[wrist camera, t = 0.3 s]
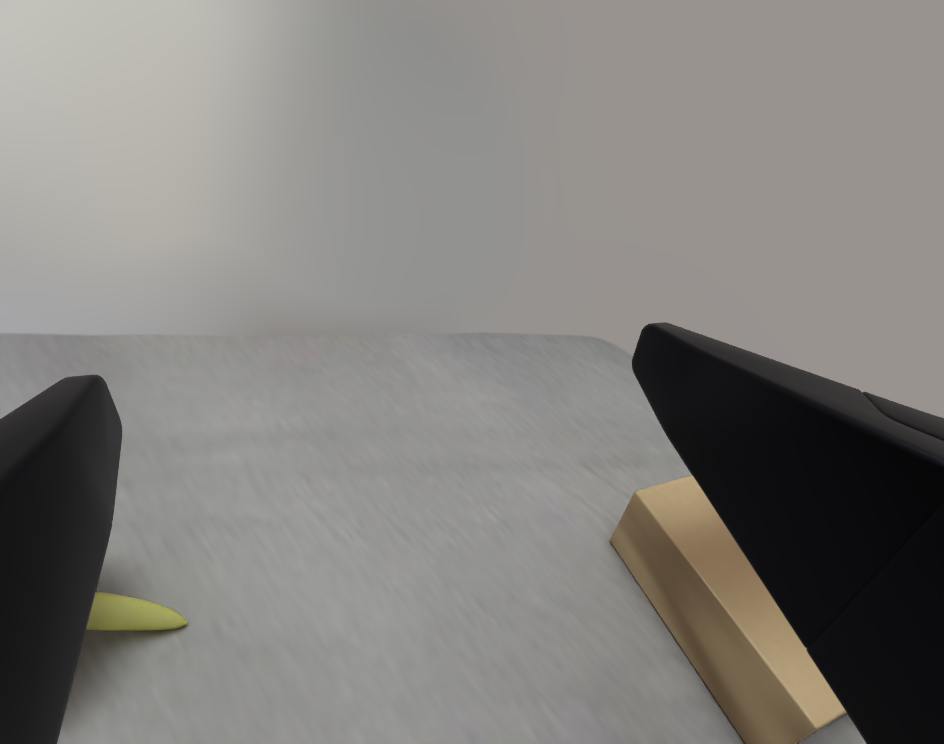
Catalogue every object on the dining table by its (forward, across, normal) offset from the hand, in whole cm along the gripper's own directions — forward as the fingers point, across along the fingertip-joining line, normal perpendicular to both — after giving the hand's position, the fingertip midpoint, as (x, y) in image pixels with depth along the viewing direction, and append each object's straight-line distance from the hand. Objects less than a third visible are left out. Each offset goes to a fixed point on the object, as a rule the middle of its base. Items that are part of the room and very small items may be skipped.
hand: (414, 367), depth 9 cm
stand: (+1, -17, +17) cm, 24 cm away
